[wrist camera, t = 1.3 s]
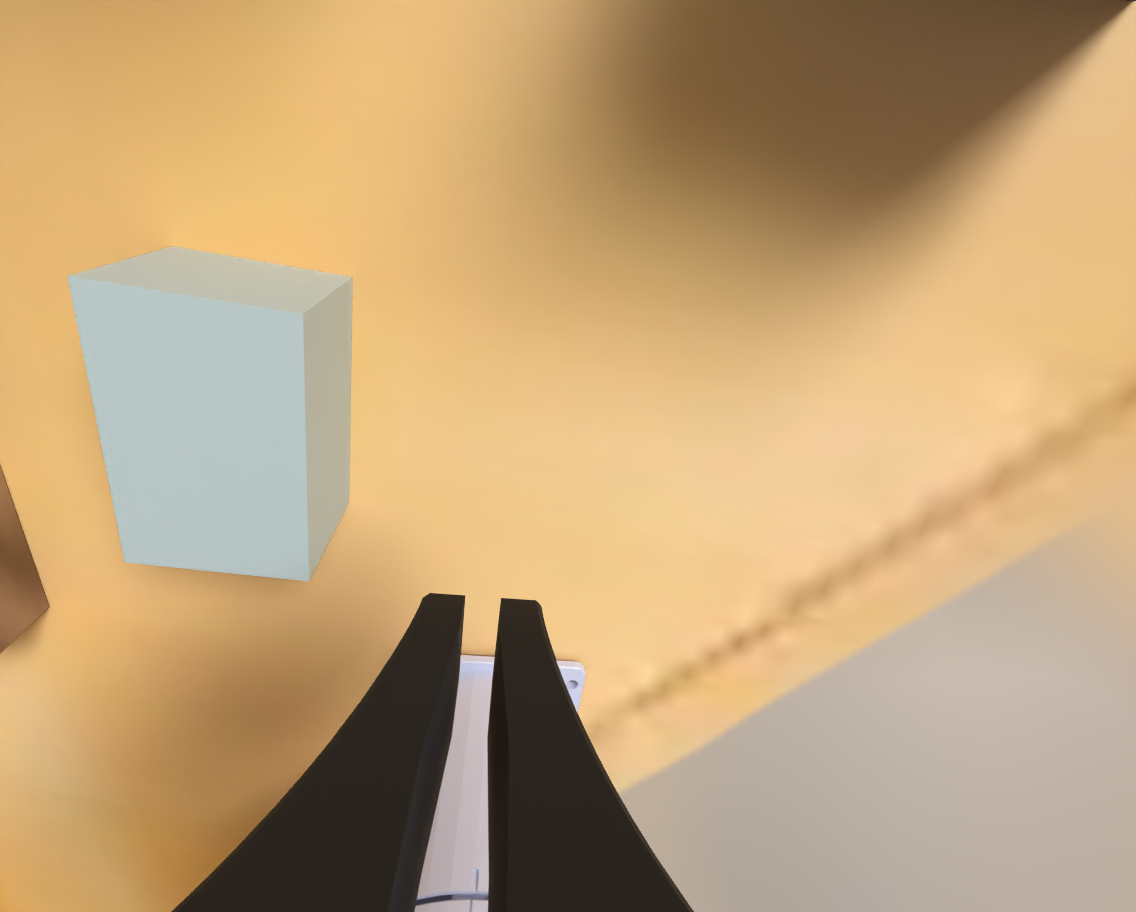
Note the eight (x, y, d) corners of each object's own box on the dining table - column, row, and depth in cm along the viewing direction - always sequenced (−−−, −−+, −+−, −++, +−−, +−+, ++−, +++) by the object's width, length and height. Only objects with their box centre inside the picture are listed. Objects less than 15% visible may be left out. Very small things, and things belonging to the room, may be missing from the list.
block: (350, 499, 21) (308, 581, 17) (203, 481, 21) (124, 562, 17) (354, 275, 18) (303, 314, 14) (176, 245, 17) (67, 275, 13)
